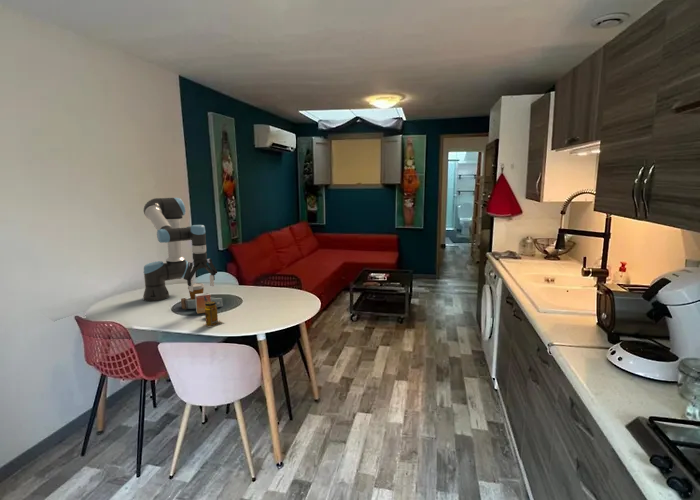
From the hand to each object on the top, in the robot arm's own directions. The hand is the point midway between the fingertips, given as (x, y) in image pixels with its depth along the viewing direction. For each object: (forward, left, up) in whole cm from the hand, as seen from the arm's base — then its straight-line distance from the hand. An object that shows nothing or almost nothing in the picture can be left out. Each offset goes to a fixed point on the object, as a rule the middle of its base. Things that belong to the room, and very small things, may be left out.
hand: (201, 288), depth 220 cm
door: (-5, +4, -14) cm, 15 cm away
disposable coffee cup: (-17, +7, -14) cm, 23 cm away
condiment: (+22, -9, -14) cm, 28 cm away
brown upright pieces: (-1, -3, -14) cm, 14 cm away
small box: (0, 0, -14) cm, 14 cm away
